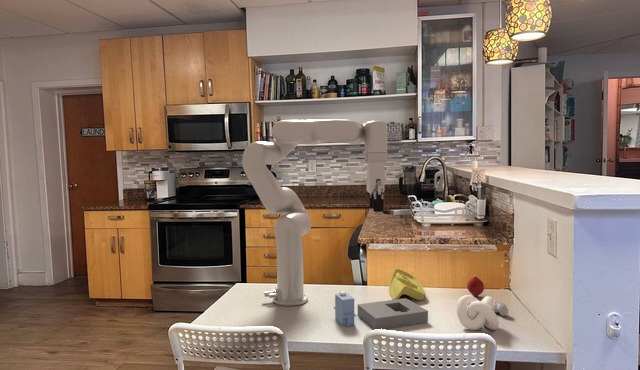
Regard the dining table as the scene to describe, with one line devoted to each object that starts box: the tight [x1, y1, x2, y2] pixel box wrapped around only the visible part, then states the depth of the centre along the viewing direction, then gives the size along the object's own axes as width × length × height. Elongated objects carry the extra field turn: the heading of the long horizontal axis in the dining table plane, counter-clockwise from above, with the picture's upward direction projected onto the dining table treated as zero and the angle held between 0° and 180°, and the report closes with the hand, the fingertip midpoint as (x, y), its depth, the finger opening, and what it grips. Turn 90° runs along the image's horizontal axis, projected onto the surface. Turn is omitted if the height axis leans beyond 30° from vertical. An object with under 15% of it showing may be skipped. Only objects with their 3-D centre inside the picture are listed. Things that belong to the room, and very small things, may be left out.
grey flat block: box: [357, 297, 429, 330], centre depth 127 cm, size 18×13×4 cm
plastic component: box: [388, 268, 427, 301], centre depth 153 cm, size 20×7×10 cm
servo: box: [333, 291, 358, 327], centre depth 125 cm, size 4×9×9 cm, turn 19°
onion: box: [466, 274, 485, 297], centre depth 149 cm, size 6×6×8 cm
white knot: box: [456, 294, 500, 331], centre depth 121 cm, size 11×12×9 cm
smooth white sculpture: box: [492, 299, 509, 317], centre depth 132 cm, size 4×8×5 cm
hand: (376, 210), depth 133 cm, fingers open, 9 cm apart
